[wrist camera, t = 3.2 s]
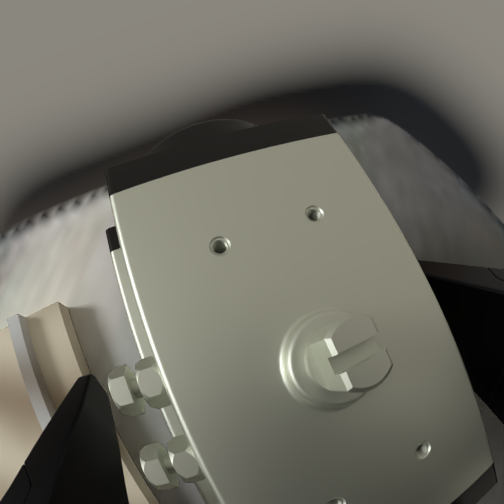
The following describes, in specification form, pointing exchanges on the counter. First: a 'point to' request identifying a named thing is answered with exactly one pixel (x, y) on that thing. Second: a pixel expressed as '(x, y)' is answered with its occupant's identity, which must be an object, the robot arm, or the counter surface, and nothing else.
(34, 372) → the mounting panel
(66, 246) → the counter surface
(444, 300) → the robot arm
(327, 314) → the pneumatic valve
